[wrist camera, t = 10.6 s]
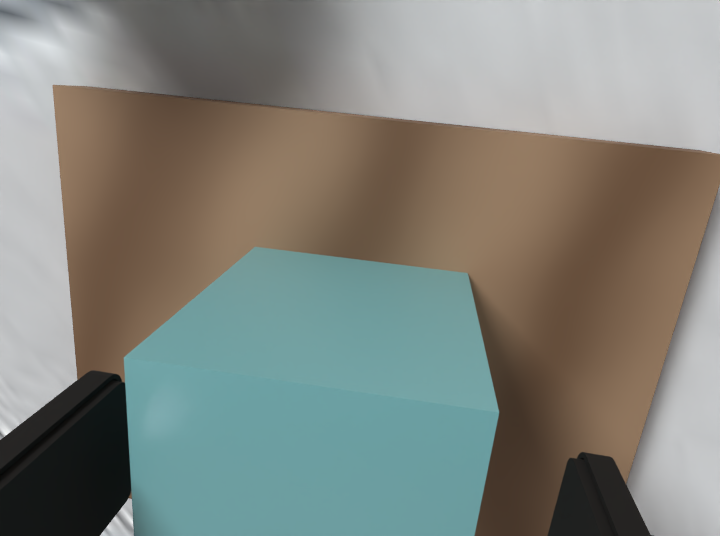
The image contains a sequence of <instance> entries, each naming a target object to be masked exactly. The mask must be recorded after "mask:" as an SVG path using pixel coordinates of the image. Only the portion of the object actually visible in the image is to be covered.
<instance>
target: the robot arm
mask: <svg viewBox="0 0 720 536" xmlns="http://www.w3.org/2000/svg"><path fill="white" fill-rule="evenodd" d="M130 494H131V474H130V456H129V439H128V422H127V405H126V388H125V382H122V379H121V377H120V376H119V375H118V374H114V373H108V372H102V371H96V370H92V371H89V372H87V373H86V374H85V375H83V376H82V377H81V378H80V379H78V380H77V381H76V382H74V383H73V384H72V385H71V386H69V387H68V388H67V389H65V390H64V391H63V392H62V393H60V394H59V395H58V396H56V397H55V398H54V399H53V400H51V401H50V402H49V403H47V404H46V405H45V406H44V407H42V408H41V409H40V410H38V411H37V412H36V413H35V414H33V415H32V416H31V417H29V418H28V419H27V420H26V421H24V422H23V423H22V424H20V425H19V426H18V427H17V428H15V429H14V430H13V431H11V432H10V433H9V434H8V435H6V436H5V437H4V438H2V439H1V440H0V536H100V535H101V533H102V532H103V531H104V529H105V528H106V527H107V526H108V524H109V523H110V522H111V520H112V519H113V518H114V517H115V515H116V514H117V513H118V511H119V510H120V509H121V508H122V506H123V505H124V504H125V502H126V501H127V500H128V498H129V496H130ZM547 536H652V535H650V533H649V531H648V529H647V527H646V525H645V523H644V521H643V519H642V517H641V515H640V513H639V510H638V508H637V506H636V504H635V502H634V500H633V498H632V496H631V494H630V492H629V490H628V488H627V485H626V483H625V481H624V479H623V477H622V475H621V473H620V471H619V469H618V467H617V465H616V463H615V461H614V459H613V458H612V457H610V456H604V455H598V454H592V453H586V452H581V453H579V455H578V457H577V459H576V458H569V460H568V461H567V464H566V468H565V472H564V476H563V479H562V483H561V487H560V491H559V494H558V498H557V502H556V506H555V509H554V513H553V517H552V520H551V524H550V528H549V532H548V535H547Z"/></svg>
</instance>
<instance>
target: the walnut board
mask: <svg viewBox="0 0 720 536" xmlns="http://www.w3.org/2000/svg"><path fill="white" fill-rule="evenodd" d="M53 95H54V107H55V119H56V131H57V142H58V154H59V166H60V178H61V190H62V201H63V213H64V225H65V237H66V249H67V260H68V272H69V284H70V296H71V308H72V319H73V331H74V343H75V355H76V367H77V378H78V379H80V378H81V377H82V376H83V375H85V374H86V373H87V372H89V371H92V370H96V371H102V372H108V373H114V374H118V375H119V376H120V377H121V379H122V382H125V371H124V357H125V356H126V355H127V354H128V353H130V352H131V351H132V350H133V349H134V348H135V347H137V346H138V345H139V344H140V343H141V342H143V341H144V340H145V339H146V338H147V337H149V336H150V335H151V334H152V333H153V332H154V331H156V330H157V329H158V328H159V327H160V326H162V325H163V324H164V323H165V322H166V321H168V320H169V319H170V318H171V317H172V316H173V315H175V314H176V313H177V312H178V311H179V310H181V309H182V308H183V307H184V306H185V305H187V304H188V303H189V302H190V301H191V300H192V299H194V298H195V297H196V296H197V295H198V294H200V293H201V292H202V291H203V290H204V289H205V288H207V287H208V286H209V285H210V284H211V283H213V282H214V281H215V280H216V279H217V278H219V277H220V276H221V275H222V274H223V273H224V272H226V271H227V270H228V269H229V268H230V267H232V266H233V265H234V264H235V263H236V262H238V261H239V260H240V259H241V258H242V257H243V256H245V255H246V254H247V253H248V252H249V251H251V250H252V249H253V248H254V247H261V248H269V249H277V250H285V251H293V252H301V253H309V254H318V255H326V256H334V257H342V258H350V259H358V260H366V261H374V262H382V263H390V264H398V265H406V266H414V267H423V268H431V269H439V270H447V271H455V272H463V273H468V276H469V280H470V285H471V289H472V294H473V298H474V302H475V307H476V311H477V316H478V320H479V325H480V329H481V334H482V338H483V342H484V347H485V351H486V356H487V360H488V365H489V369H490V374H491V378H492V382H493V387H494V391H495V396H496V400H497V405H498V409H499V416H498V421H497V426H496V431H495V436H494V441H493V446H492V451H491V456H490V461H489V466H488V471H487V476H486V481H485V486H484V491H483V496H482V501H481V506H480V511H479V516H478V521H477V525H476V530H475V535H474V536H547V535H548V532H549V528H550V524H551V520H552V517H553V513H554V509H555V506H556V502H557V498H558V494H559V491H560V487H561V483H562V479H563V476H564V472H565V468H566V464H567V461H568V460H569V458H576V459H577V457H578V455H579V453H581V452H586V453H592V454H598V455H604V456H610V457H612V458H613V459H614V461H615V463H616V465H617V467H618V469H619V471H620V473H621V475H622V477H623V479H624V481H625V483H626V482H627V479H628V476H629V473H630V469H631V466H632V463H633V460H634V457H635V453H636V450H637V447H638V444H639V441H640V437H641V434H642V431H643V428H644V425H645V421H646V418H647V415H648V412H649V409H650V405H651V402H652V399H653V396H654V393H655V389H656V386H657V383H658V380H659V377H660V373H661V370H662V367H663V364H664V361H665V357H666V354H667V351H668V348H669V345H670V341H671V338H672V335H673V332H674V329H675V325H676V322H677V319H678V316H679V313H680V309H681V306H682V303H683V300H684V297H685V293H686V290H687V287H688V284H689V281H690V277H691V274H692V271H693V268H694V265H695V261H696V258H697V255H698V252H699V249H700V245H701V242H702V239H703V236H704V233H705V229H706V226H707V223H708V220H709V217H710V213H711V210H712V207H713V204H714V201H715V197H716V194H717V191H718V188H719V185H720V154H716V153H711V152H706V151H700V150H691V149H682V148H672V147H663V146H653V145H643V144H634V143H624V142H615V141H605V140H596V139H586V138H576V137H567V136H557V135H548V134H538V133H528V132H519V131H509V130H500V129H490V128H480V127H471V126H461V125H452V124H442V123H433V122H423V121H413V120H404V119H394V118H385V117H375V116H365V115H356V114H346V113H337V112H327V111H317V110H308V109H298V108H289V107H279V106H270V105H260V104H250V103H241V102H231V101H222V100H212V99H202V98H193V97H183V96H174V95H164V94H154V93H145V92H135V91H126V90H116V89H107V88H97V87H87V86H65V85H53ZM129 498H130V499H132V491H131V494H130V496H129Z"/></svg>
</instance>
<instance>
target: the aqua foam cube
mask: <svg viewBox="0 0 720 536" xmlns="http://www.w3.org/2000/svg"><path fill="white" fill-rule="evenodd" d="M124 371H125V388H126V405H127V422H128V439H129V456H130V474H131V491H132V508H133V525H134V536H474V535H475V530H476V525H477V521H478V516H479V511H480V506H481V501H482V496H483V491H484V486H485V481H486V476H487V471H488V466H489V461H490V456H491V451H492V446H493V441H494V436H495V431H496V426H497V421H498V416H499V409H498V405H497V400H496V396H495V391H494V387H493V382H492V378H491V374H490V369H489V365H488V360H487V356H486V351H485V347H484V342H483V338H482V334H481V329H480V325H479V320H478V316H477V311H476V307H475V302H474V298H473V294H472V289H471V285H470V280H469V276H468V273H463V272H455V271H447V270H439V269H431V268H423V267H414V266H406V265H398V264H390V263H382V262H374V261H366V260H358V259H350V258H342V257H334V256H326V255H318V254H309V253H301V252H293V251H285V250H277V249H269V248H261V247H254V248H253V249H252V250H251V251H249V252H248V253H247V254H246V255H245V256H243V257H242V258H241V259H240V260H239V261H238V262H236V263H235V264H234V265H233V266H232V267H230V268H229V269H228V270H227V271H226V272H224V273H223V274H222V275H221V276H220V277H219V278H217V279H216V280H215V281H214V282H213V283H211V284H210V285H209V286H208V287H207V288H205V289H204V290H203V291H202V292H201V293H200V294H198V295H197V296H196V297H195V298H194V299H192V300H191V301H190V302H189V303H188V304H187V305H185V306H184V307H183V308H182V309H181V310H179V311H178V312H177V313H176V314H175V315H173V316H172V317H171V318H170V319H169V320H168V321H166V322H165V323H164V324H163V325H162V326H160V327H159V328H158V329H157V330H156V331H154V332H153V333H152V334H151V335H150V336H149V337H147V338H146V339H145V340H144V341H143V342H141V343H140V344H139V345H138V346H137V347H135V348H134V349H133V350H132V351H131V352H130V353H128V354H127V355H126V356H125V357H124Z"/></svg>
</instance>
